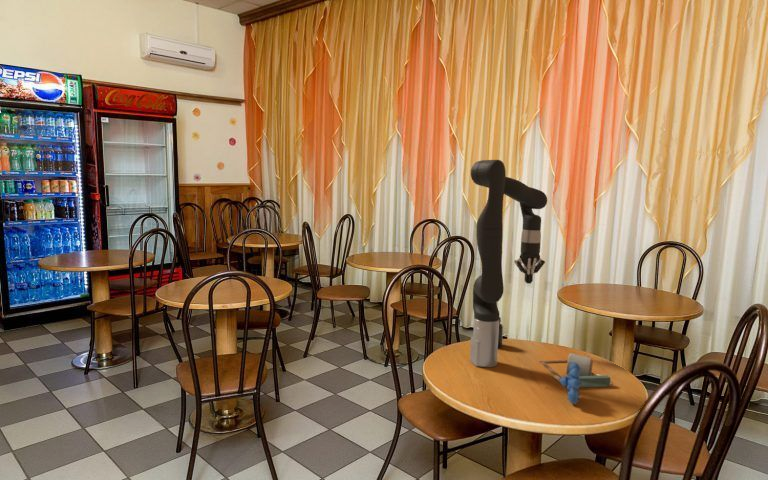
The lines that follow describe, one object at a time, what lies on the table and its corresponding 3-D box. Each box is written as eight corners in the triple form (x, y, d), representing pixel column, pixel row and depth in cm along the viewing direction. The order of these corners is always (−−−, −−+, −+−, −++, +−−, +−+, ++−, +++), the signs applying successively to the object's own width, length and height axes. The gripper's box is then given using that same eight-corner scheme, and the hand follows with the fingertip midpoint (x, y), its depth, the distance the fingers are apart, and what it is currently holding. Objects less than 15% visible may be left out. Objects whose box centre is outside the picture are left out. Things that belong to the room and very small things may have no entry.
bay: (536, 362, 186) (536, 354, 185) (578, 360, 188) (578, 353, 188) (565, 387, 163) (566, 379, 163) (613, 386, 165) (614, 377, 165)
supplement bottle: (504, 344, 205) (505, 316, 203) (498, 349, 199) (500, 320, 198) (488, 341, 208) (490, 314, 207) (482, 346, 203) (484, 317, 201)
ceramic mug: (590, 382, 168) (592, 360, 167) (565, 377, 172) (567, 356, 171) (592, 372, 178) (593, 351, 177) (568, 368, 181) (569, 347, 180)
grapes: (558, 391, 160) (560, 355, 159) (580, 394, 158) (582, 358, 157) (558, 406, 150) (560, 368, 148) (581, 410, 147) (584, 372, 146)
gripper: (520, 242, 192) (517, 285, 194) (550, 242, 195) (548, 284, 197) (511, 239, 199) (509, 281, 201) (540, 239, 202) (538, 280, 204)
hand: (528, 283), depth 199 cm, fingers closed
